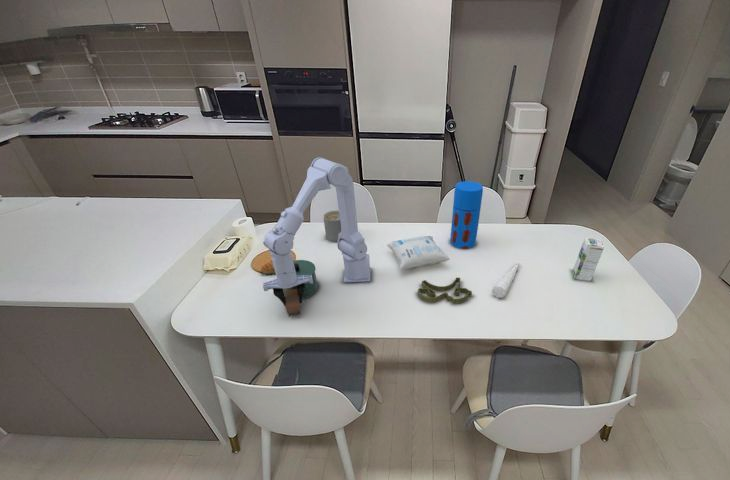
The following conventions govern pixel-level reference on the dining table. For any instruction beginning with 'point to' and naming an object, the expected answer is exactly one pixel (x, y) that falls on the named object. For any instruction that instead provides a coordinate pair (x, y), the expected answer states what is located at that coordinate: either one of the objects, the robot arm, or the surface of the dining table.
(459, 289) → the cookie cutter
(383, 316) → the dining table surface
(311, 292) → the pot
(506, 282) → the unicorn horn
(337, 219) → the coffee mug
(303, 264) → the pot lid
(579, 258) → the syrup box
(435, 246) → the pouch
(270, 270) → the pastry
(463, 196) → the thermos
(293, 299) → the brown rectangular block
